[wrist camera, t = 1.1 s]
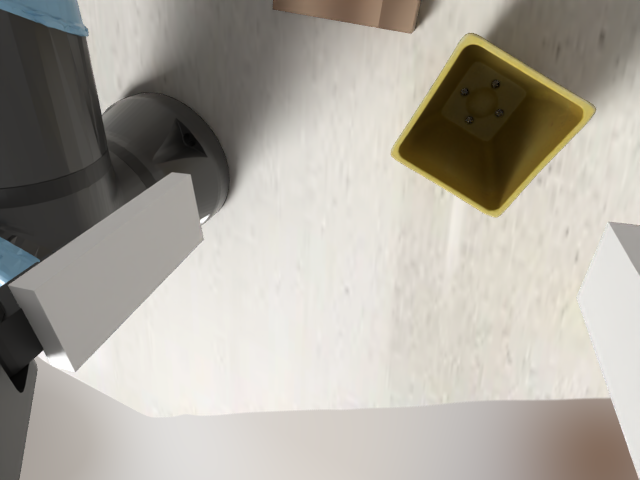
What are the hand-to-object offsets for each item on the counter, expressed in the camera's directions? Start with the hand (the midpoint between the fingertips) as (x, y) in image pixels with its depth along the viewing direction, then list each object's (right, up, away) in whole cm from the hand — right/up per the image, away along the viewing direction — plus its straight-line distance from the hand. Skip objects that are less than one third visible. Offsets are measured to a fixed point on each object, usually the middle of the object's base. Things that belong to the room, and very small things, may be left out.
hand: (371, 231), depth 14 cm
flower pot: (+11, +11, +19) cm, 25 cm away
